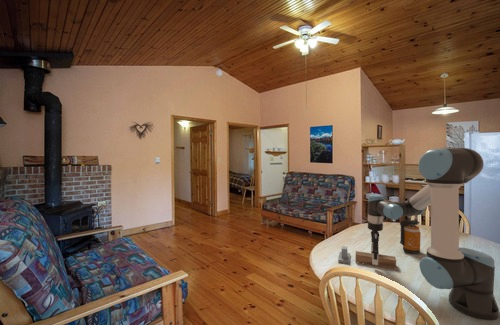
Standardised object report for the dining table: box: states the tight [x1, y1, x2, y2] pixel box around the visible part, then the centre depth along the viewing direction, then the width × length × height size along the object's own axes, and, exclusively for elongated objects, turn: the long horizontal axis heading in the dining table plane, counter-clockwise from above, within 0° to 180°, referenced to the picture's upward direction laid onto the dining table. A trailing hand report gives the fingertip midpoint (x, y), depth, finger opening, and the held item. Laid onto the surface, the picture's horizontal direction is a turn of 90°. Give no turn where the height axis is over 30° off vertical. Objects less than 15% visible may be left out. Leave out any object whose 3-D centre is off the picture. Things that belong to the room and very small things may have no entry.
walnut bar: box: [355, 250, 397, 270], centre depth 138 cm, size 5×20×5 cm, turn 66°
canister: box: [399, 219, 422, 254], centre depth 153 cm, size 9×11×20 cm
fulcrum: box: [337, 245, 351, 265], centre depth 144 cm, size 12×6×7 cm, turn 156°
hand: (374, 259), depth 138 cm, fingers open, 13 cm apart
